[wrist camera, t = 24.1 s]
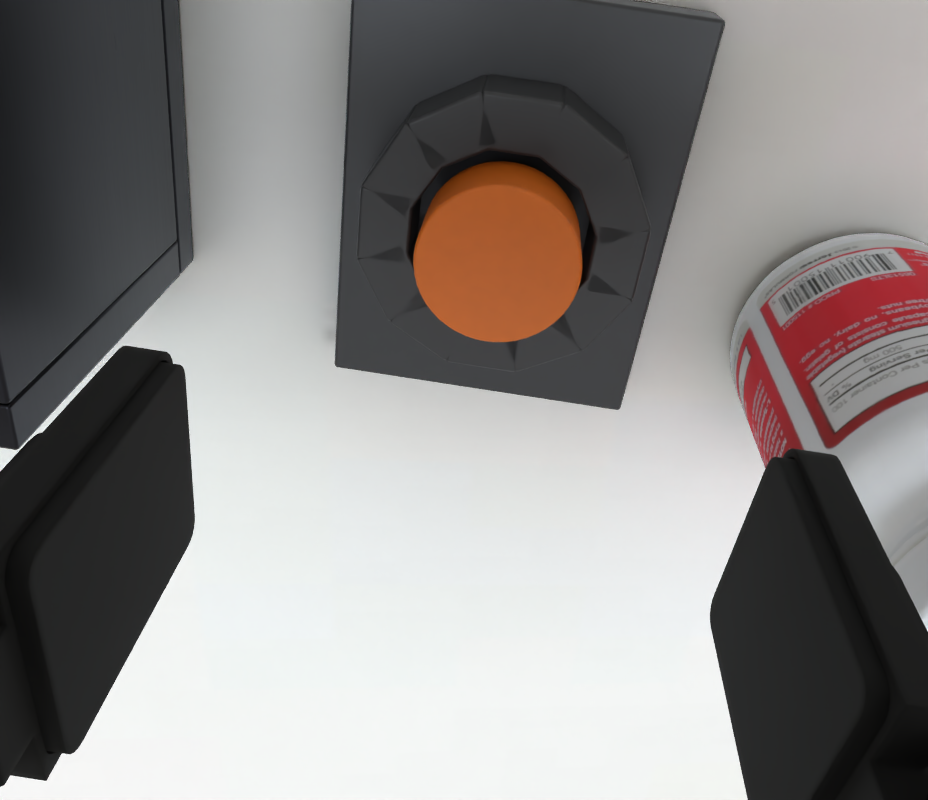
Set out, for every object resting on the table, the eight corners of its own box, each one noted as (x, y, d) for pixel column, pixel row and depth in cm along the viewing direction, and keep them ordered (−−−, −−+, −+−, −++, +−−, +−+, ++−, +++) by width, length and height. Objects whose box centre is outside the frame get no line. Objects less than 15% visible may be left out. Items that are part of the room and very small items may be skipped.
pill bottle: (866, 458, 24) (1060, 818, 15) (683, 379, 24) (769, 710, 14) (1022, 282, 21) (1392, 602, 12) (816, 184, 20) (1041, 447, 11)
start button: (431, 148, 18) (421, 172, 17) (595, 173, 18) (598, 200, 17) (416, 296, 20) (405, 330, 19) (563, 319, 20) (564, 354, 19)
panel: (362, -41, 19) (333, -27, 16) (717, 12, 18) (743, 34, 16) (343, 347, 24) (318, 402, 21) (617, 388, 24) (625, 449, 21)
